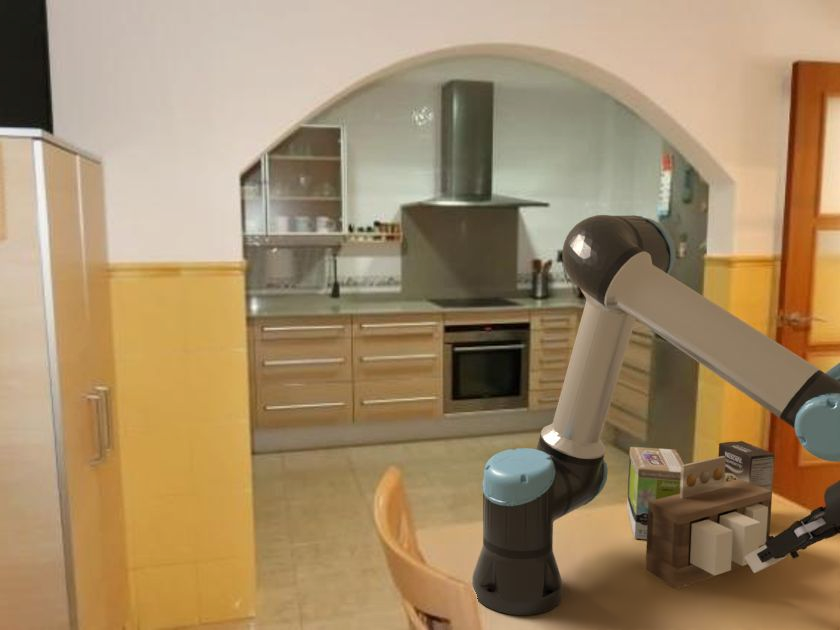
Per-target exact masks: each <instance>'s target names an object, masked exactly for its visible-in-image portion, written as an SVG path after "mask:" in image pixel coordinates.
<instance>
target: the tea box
mask: <svg viewBox="0 0 840 630" xmlns="http://www.w3.org/2000/svg"><path fill="white" fill-rule="evenodd" d="M628 456H629V457H628V459H629V460H628V462H629V463H628V479H627V499H626V500H627V501H626V510H627V513H628V518H629V523H630V526H631V530H632V534H633V537H634V539H637V540H638V539H639V540H644V541H645V540H646V541H647V523H648V502H649V501H653V500H657V499H661V498H665V497H669V496H673V495H677V494H680V480H681V465H685V464H686V463H684V461H683V460H682V458H681V455H680V454H679V453H678V451H677V449H674V448H673V449H670V448H655V447H640V446H630V447H629V455H628Z"/></svg>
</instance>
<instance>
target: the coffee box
mask: <svg viewBox="0 0 840 630" xmlns="http://www.w3.org/2000/svg"><path fill="white" fill-rule="evenodd" d="M775 455H776V454H775V453H774V452H771V451H768V450H766V449H763V448H760V447H758V446H755V445H753V444H750V443H747V442H745V441H743V440H740V441H726V442H719V443H718V455H717V457H720V456H725V457H726V461H725V480H724V482H728V481H732V480H736V479H741V480H744V481H746V482H749V483H752V484H755V485H757V486H760V487H763V488H765V489H768V490H771V491H772V492H773V478H774V477H773V476H774V467H775V466H774V465H775Z"/></svg>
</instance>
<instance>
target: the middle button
mask: <svg viewBox="0 0 840 630" xmlns="http://www.w3.org/2000/svg"><path fill="white" fill-rule="evenodd" d="M719 524H720V525H722V526H724V527H726V528H729V529H731V530H733V539H732V557H731V560H732V561H734V562H736V563H738V564H740V565H742V567H744V565H745V566H748V565H749V564H748V563H747V561H746V559H745V558H744V556H746V555H748V554H750V553H751V552H753V551H755V550H757V549H758V548H759V539H760V522H759V521H757V520H754V519H752V518H749V517H747V516H744V515H742V514H740V513H737V512H732V513H728V514H725V515H721V516H720V521H719ZM747 564H748V565H747Z"/></svg>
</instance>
